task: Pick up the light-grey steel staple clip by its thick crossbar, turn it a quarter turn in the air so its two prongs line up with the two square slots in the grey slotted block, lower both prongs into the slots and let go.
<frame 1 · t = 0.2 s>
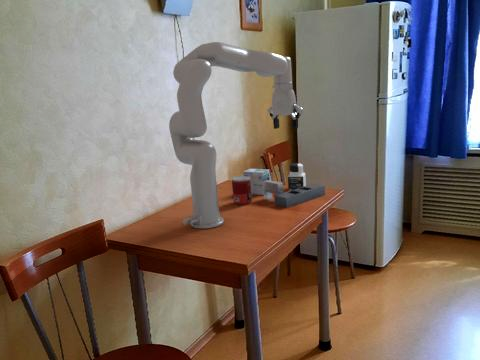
hand: (285, 128, 186), 30 cm above the table, fingers open, 9 cm apart
medicine bottle: (297, 189, 204), on the table
light bulb box: (257, 193, 204), on the table
canned food: (242, 203, 189), on the table
clip: (274, 199, 190), on the table
grey slotted block: (300, 199, 187), on the table
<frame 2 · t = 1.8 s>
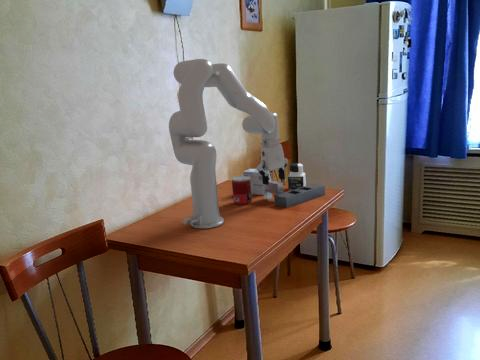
hand: (274, 181, 188), 8 cm above the table, fingers open, 9 cm apart
nothing on the table moved.
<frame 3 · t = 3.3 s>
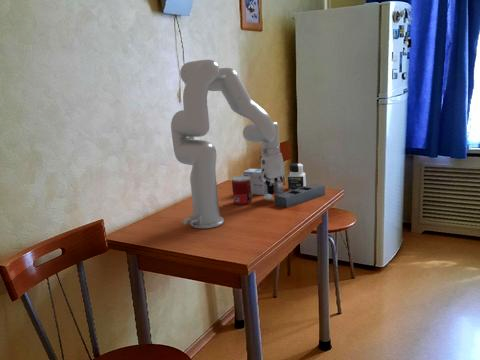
hand: (273, 192, 189), 3 cm above the table, fingers closed on clip, 3 cm apart
clip: (274, 199, 190), on the table, touching gripper
everything else where it was.
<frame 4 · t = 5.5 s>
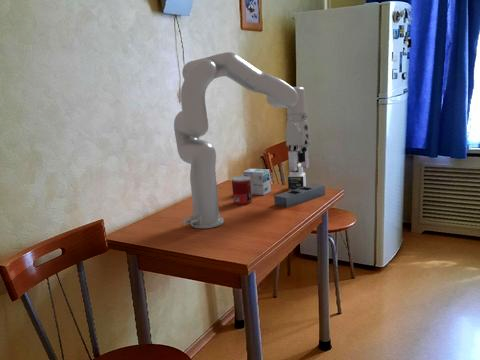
hand: (298, 161, 183), 17 cm above the table, fingers closed on clip, 3 cm apart
clip: (299, 168, 184), point 13 cm above the table, touching gripper
everything else where it was.
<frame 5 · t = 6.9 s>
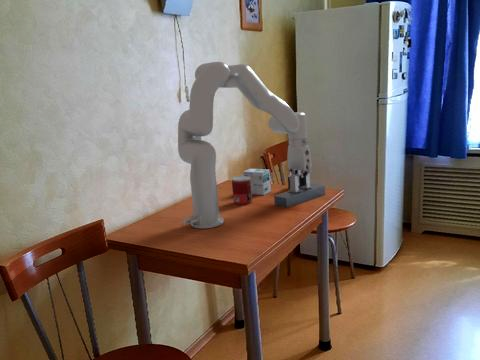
hand: (300, 184, 186), 6 cm above the table, fingers closed on clip, 3 cm apart
clip: (300, 192, 186), point 3 cm above the table, touching gripper
everything else where it was.
when the fingers open (5 cm above the table, at t = 7.7 s): clip stays where it is, resting on grey slotted block.
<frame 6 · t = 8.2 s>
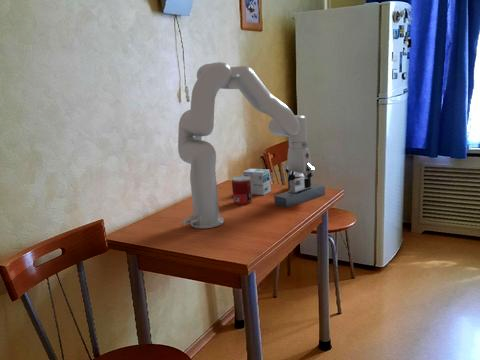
hand: (299, 185, 186), 6 cm above the table, fingers open, 8 cm apart
clip: (300, 197, 187), point 1 cm above the table, touching grey slotted block
everything else where it was.
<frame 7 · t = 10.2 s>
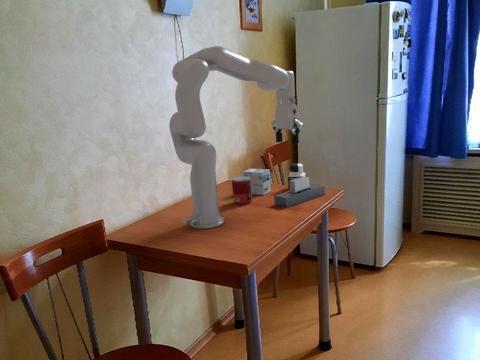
hand: (287, 142, 184), 24 cm above the table, fingers open, 9 cm apart
nothing on the table moved.
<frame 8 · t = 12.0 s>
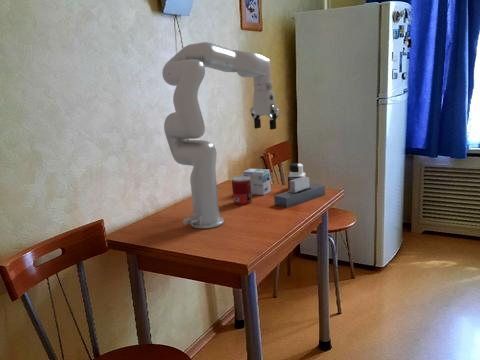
hand: (265, 128, 189), 30 cm above the table, fingers open, 9 cm apart
nothing on the table moved.
at the end: clip 0.1 cm off-centre on the grey slotted block, point 1.0 cm above the grey slotted block's base; clip tilted 0°; the gripper is holding nothing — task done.
